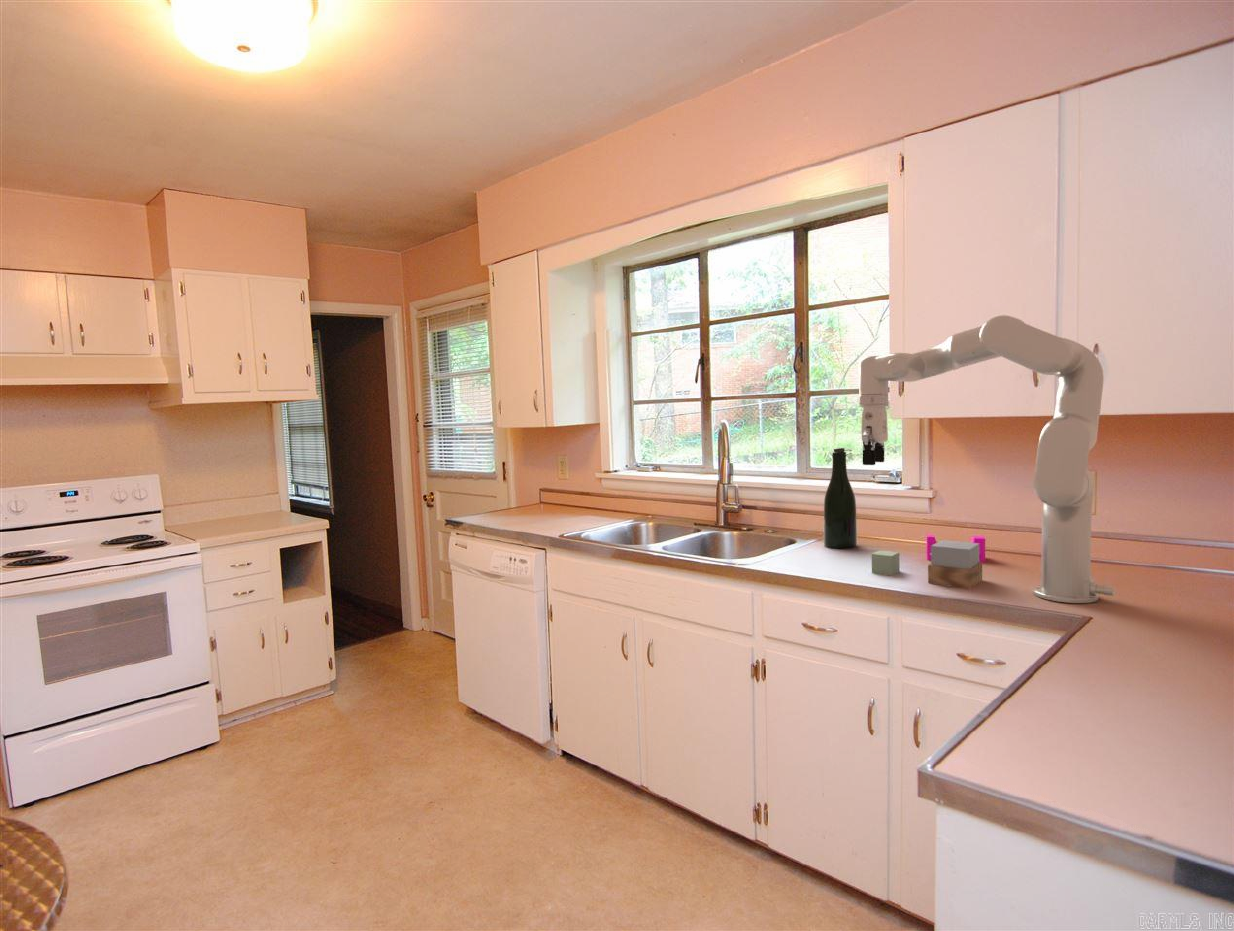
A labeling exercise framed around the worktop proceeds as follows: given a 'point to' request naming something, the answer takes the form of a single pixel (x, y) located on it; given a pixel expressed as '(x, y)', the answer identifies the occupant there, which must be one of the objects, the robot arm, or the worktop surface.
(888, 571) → the sage cube
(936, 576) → the tower bottom
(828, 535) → the dark green wine bottle
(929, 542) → the toy block
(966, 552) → the tower top
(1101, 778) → the worktop surface
